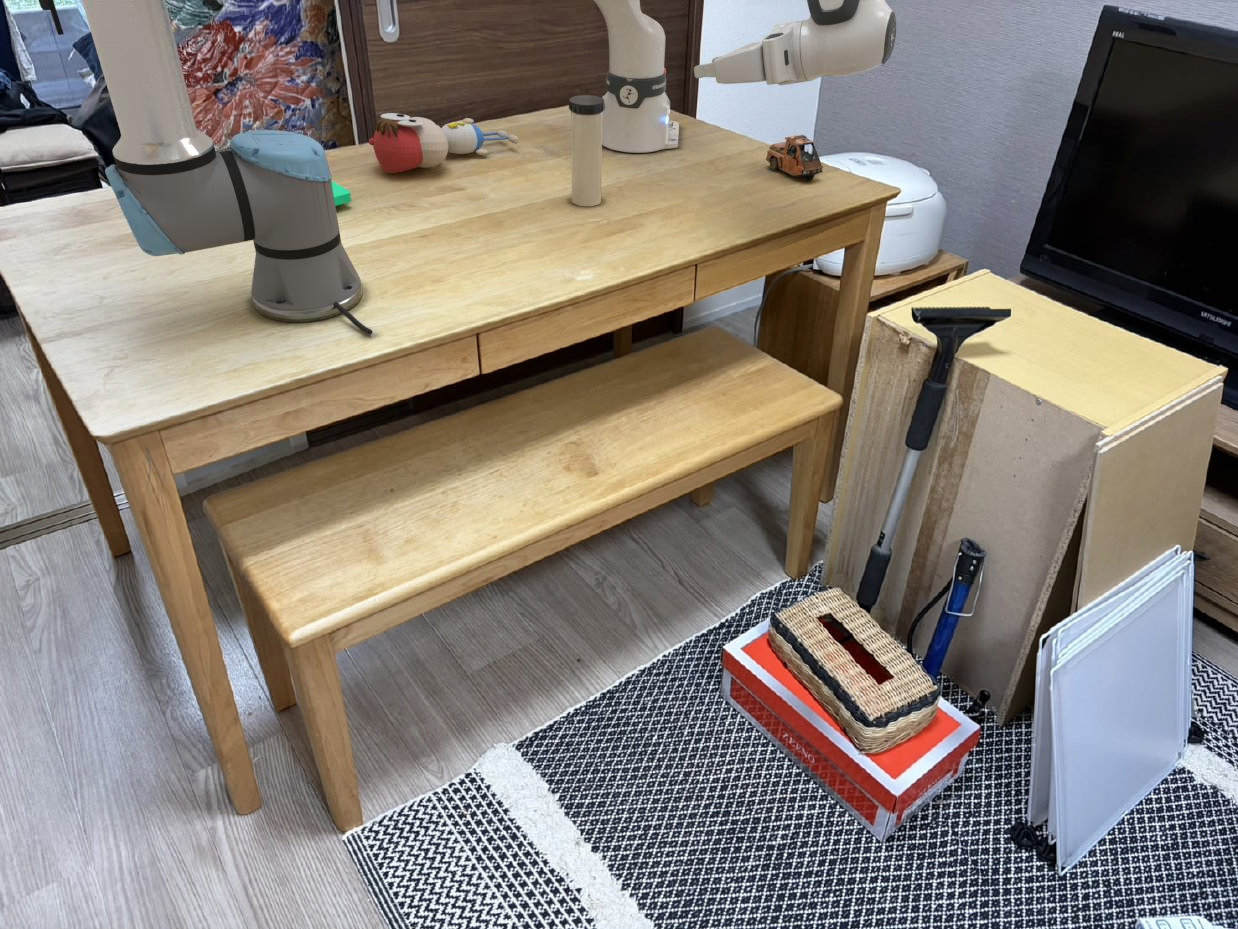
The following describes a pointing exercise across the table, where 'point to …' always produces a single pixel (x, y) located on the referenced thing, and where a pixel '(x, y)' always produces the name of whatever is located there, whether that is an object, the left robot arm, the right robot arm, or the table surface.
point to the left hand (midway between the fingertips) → (108, 29)
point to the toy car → (795, 157)
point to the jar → (586, 158)
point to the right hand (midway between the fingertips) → (704, 67)
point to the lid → (586, 104)
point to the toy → (425, 141)
